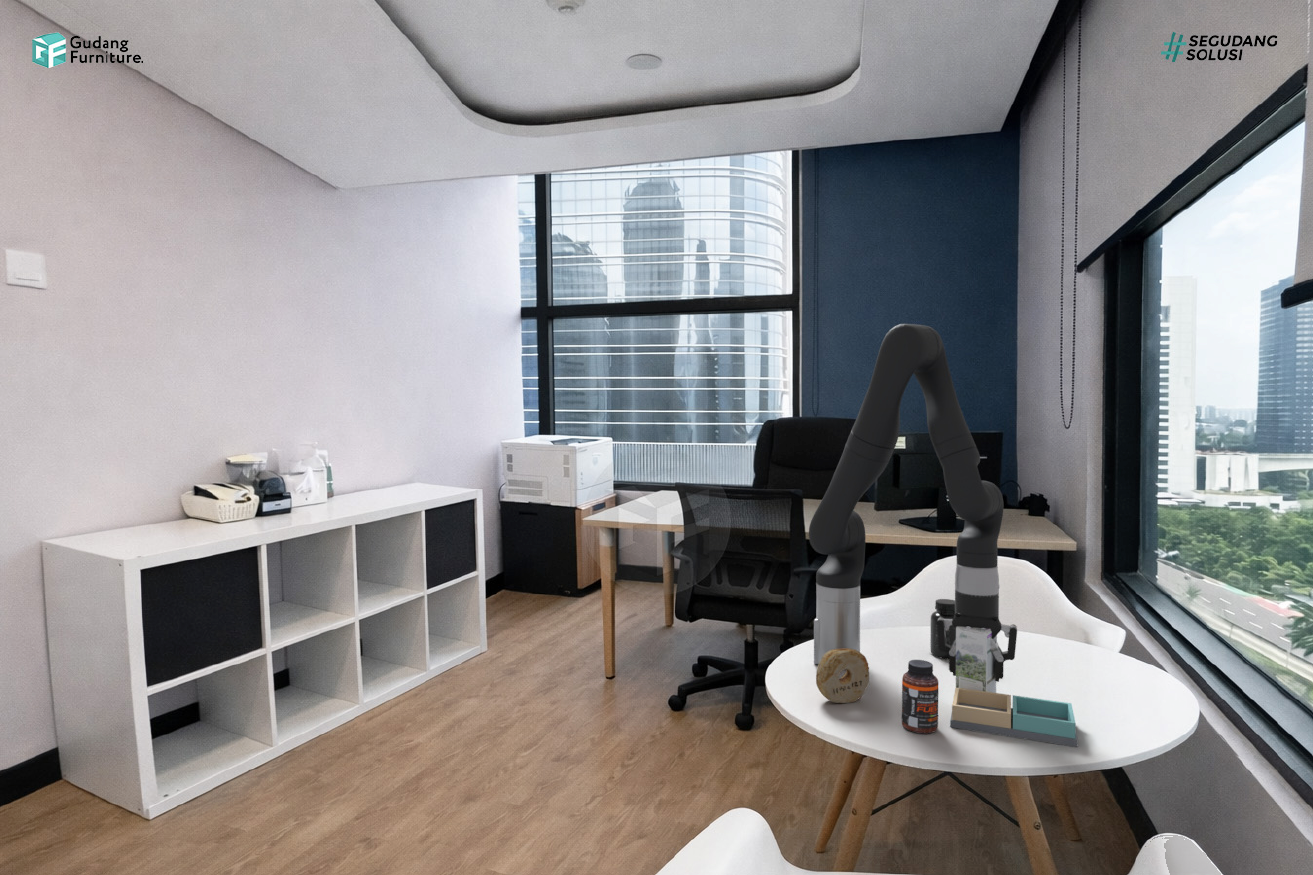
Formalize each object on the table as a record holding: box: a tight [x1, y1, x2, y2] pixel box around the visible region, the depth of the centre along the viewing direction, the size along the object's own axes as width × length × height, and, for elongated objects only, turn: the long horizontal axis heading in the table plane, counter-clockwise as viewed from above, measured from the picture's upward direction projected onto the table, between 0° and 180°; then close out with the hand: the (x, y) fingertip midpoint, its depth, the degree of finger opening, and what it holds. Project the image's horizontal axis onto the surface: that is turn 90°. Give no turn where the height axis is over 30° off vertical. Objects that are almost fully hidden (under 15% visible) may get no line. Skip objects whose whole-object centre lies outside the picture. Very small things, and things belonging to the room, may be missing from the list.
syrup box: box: [955, 626, 998, 693], centre depth 141 cm, size 6×6×14 cm
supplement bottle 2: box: [929, 598, 956, 660], centre depth 168 cm, size 7×7×12 cm
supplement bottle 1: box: [901, 659, 939, 735], centre depth 130 cm, size 6×6×11 cm
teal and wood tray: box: [949, 687, 1078, 748], centre depth 131 cm, size 19×10×4 cm, turn 65°
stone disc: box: [815, 648, 870, 704], centre depth 143 cm, size 10×4×10 cm, turn 106°
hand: (976, 677), depth 141 cm, fingers closed on syrup box, 6 cm apart
